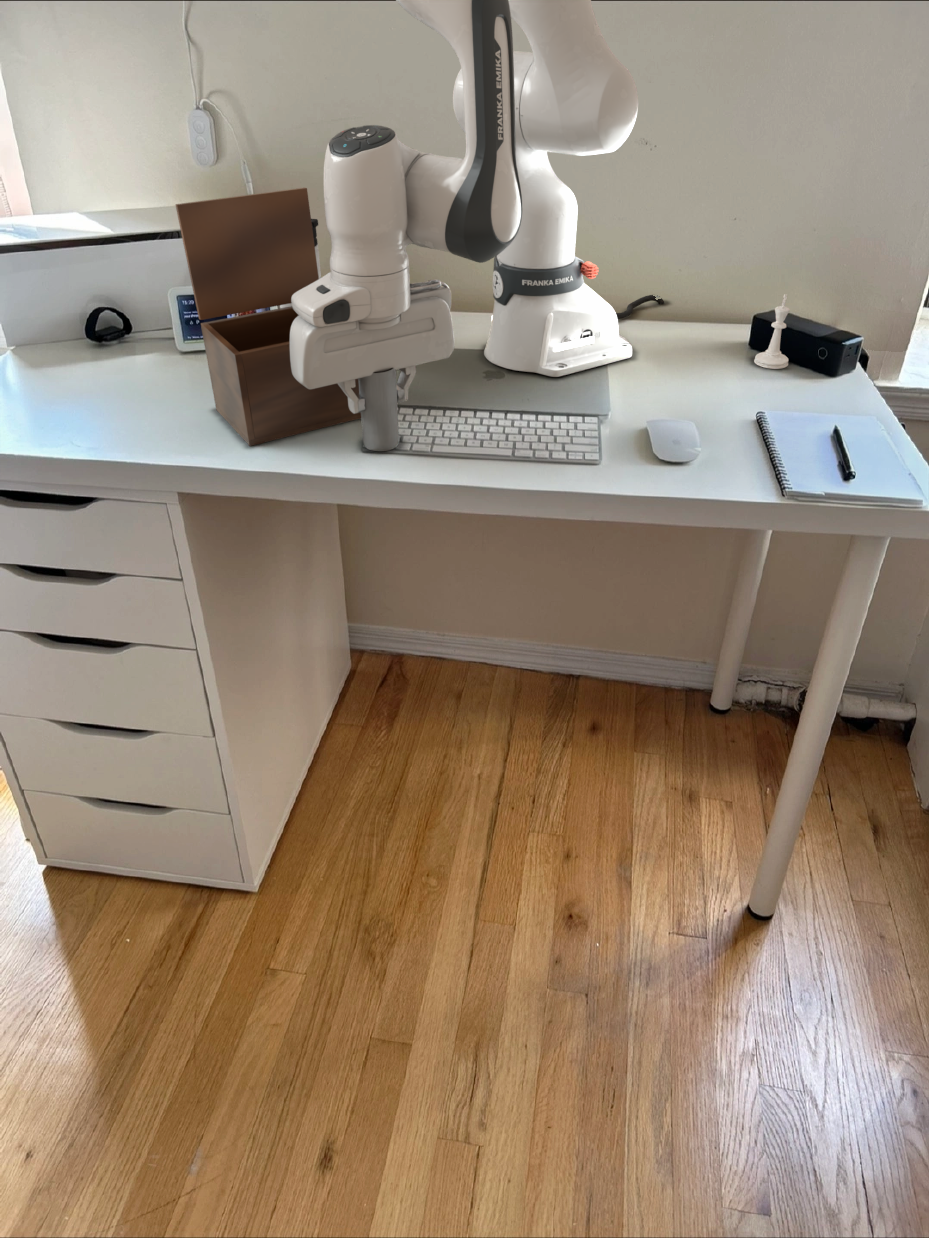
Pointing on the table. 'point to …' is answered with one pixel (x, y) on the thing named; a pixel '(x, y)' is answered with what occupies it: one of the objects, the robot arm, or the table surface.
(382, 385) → the gray cylinder
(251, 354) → the storage box
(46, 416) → the table surface
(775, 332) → the chess piece
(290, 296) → the box lid
